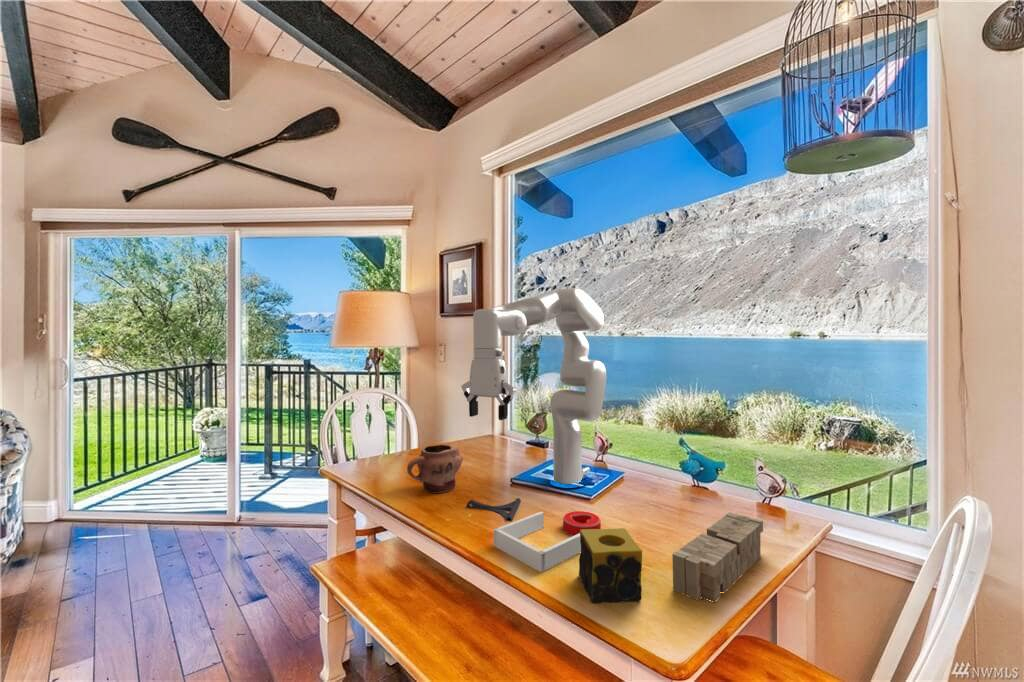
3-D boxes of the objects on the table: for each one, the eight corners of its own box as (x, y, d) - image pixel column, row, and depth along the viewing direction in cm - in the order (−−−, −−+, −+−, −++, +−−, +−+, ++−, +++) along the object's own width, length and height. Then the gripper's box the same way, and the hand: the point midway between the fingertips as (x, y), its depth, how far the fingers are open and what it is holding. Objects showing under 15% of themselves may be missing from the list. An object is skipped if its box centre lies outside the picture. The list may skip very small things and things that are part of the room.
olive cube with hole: (578, 575, 94) (578, 528, 94) (624, 573, 95) (625, 526, 95) (590, 605, 84) (590, 552, 84) (642, 602, 85) (643, 550, 85)
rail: (540, 526, 118) (540, 511, 118) (589, 548, 106) (589, 531, 106) (493, 546, 108) (493, 529, 107) (541, 572, 96) (541, 554, 95)
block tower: (711, 613, 84) (764, 554, 104) (711, 568, 83) (764, 518, 103) (671, 594, 89) (729, 542, 109) (671, 553, 89) (729, 508, 109)
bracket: (473, 500, 139) (473, 491, 139) (521, 503, 136) (520, 494, 136) (459, 519, 124) (459, 510, 124) (512, 523, 122) (512, 513, 122)
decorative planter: (420, 503, 134) (420, 457, 134) (398, 493, 142) (398, 450, 142) (471, 487, 149) (471, 445, 148) (448, 478, 157) (448, 439, 157)
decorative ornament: (564, 521, 122) (564, 509, 122) (600, 523, 121) (600, 511, 121) (562, 536, 113) (562, 524, 113) (601, 539, 111) (601, 527, 111)
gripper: (522, 354, 120) (522, 418, 120) (470, 353, 129) (471, 412, 130) (506, 356, 114) (507, 423, 114) (453, 354, 123) (454, 416, 123)
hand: (488, 417), depth 122 cm, fingers open, 9 cm apart
